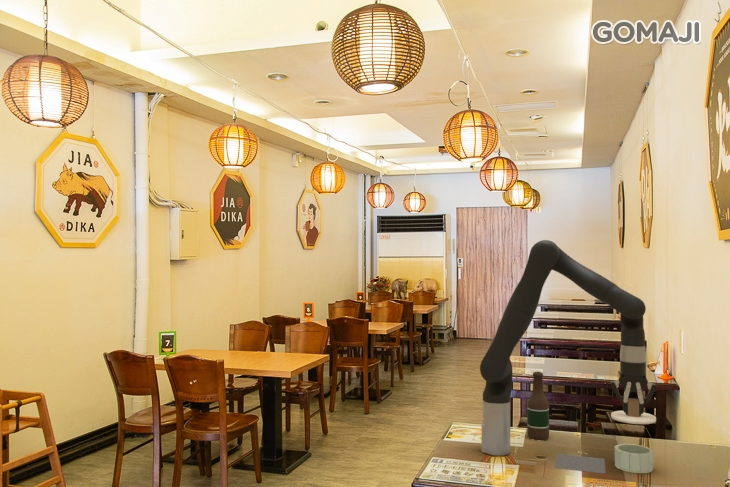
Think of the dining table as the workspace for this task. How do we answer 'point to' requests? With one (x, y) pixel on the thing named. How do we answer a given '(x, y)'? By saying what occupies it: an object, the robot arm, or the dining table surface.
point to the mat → (580, 463)
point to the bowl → (634, 458)
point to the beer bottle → (538, 411)
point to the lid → (633, 414)
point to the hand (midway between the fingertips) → (633, 414)
